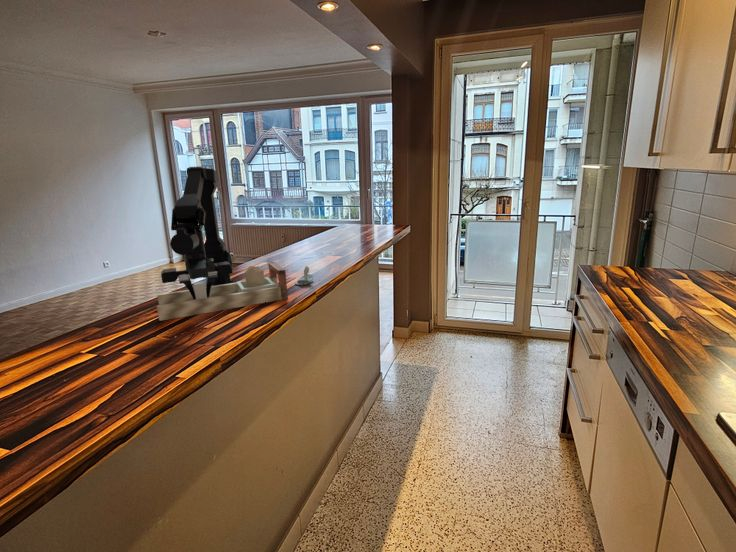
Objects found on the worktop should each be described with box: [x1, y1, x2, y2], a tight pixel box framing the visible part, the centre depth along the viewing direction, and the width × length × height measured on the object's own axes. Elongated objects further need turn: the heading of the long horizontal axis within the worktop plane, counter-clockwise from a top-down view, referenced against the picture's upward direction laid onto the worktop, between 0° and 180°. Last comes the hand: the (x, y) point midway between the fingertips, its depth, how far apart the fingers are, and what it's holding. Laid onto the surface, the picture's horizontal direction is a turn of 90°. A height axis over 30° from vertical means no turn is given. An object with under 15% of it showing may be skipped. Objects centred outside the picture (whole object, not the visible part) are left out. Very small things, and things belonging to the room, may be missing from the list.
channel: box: [156, 261, 289, 322], centre depth 122 cm, size 36×13×9 cm, turn 116°
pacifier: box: [294, 265, 314, 286], centre depth 141 cm, size 7×6×6 cm
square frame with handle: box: [192, 276, 276, 299], centre depth 124 cm, size 22×10×7 cm, turn 116°
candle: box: [244, 265, 265, 288], centre depth 126 cm, size 6×6×10 cm
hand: (201, 300), depth 120 cm, fingers closed on square frame with handle, 3 cm apart
